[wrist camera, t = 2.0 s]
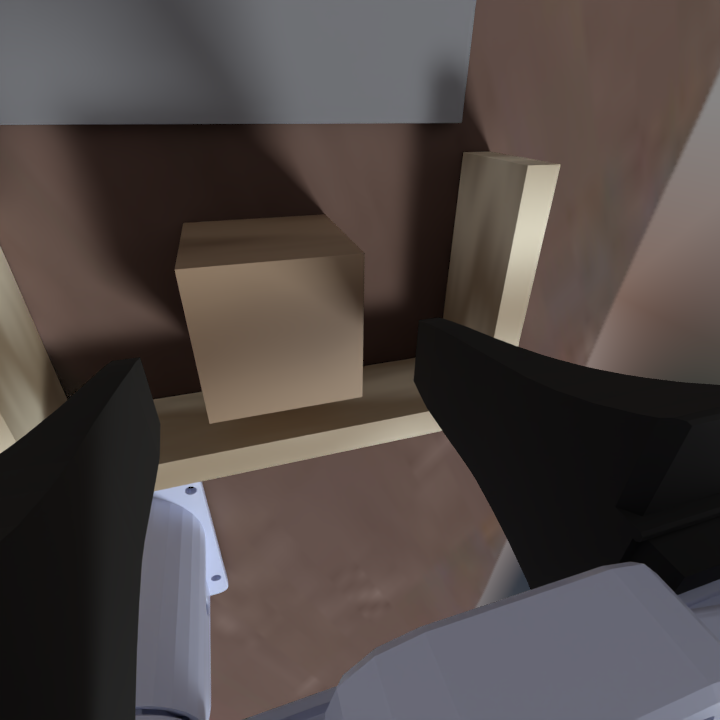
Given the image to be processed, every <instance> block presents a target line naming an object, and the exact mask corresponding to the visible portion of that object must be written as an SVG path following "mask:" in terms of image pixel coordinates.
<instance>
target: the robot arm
mask: <svg viewBox="0 0 720 720" xmlns="http://www.w3.org/2000/svg"><path fill="white" fill-rule="evenodd" d="M413 381H414V383H415V385H416V387H417V389H418V391H419V394H420V396H421V398H422V400H423V402H424V403H425V405H426V407H427V409H428V410H429V412H430V413H431V415H432V416H433V418H434V419H435V421H436V422H437V424H438V425H439V427H440V428H441V429H442V431H443V432H444V434H445V435H446V437H447V438H448V439H449V441H450V442H451V444H452V445H453V446H454V448H455V449H456V451H457V452H458V453H459V455H460V456H461V458H462V459H463V461H464V462H465V463H466V465H467V466H468V468H469V469H470V471H471V473H472V474H473V476H474V477H475V479H476V481H477V482H478V484H479V486H480V488H481V490H482V492H483V493H484V495H485V497H486V499H487V501H488V502H489V504H490V506H491V508H492V510H493V512H494V514H495V516H496V518H497V520H498V522H499V524H500V526H501V527H502V529H503V531H504V533H505V535H506V537H507V539H508V541H509V543H510V545H511V548H512V550H513V552H514V554H515V556H516V558H517V560H518V562H519V565H520V567H521V569H522V571H523V573H524V575H525V577H526V579H527V582H528V584H529V587H530V589H531V590H529V591H526V592H523V593H520V594H517V595H514V596H511V597H508V598H505V599H502V600H500V601H496V602H493V603H490V604H487V605H484V606H481V607H478V608H475V609H472V610H469V611H466V612H463V613H460V614H457V615H454V616H451V617H448V618H445V619H442V620H439V621H437V622H434V623H431V624H428V625H425V626H422V627H419V628H417V629H415V630H413V631H410V632H408V633H406V634H404V635H402V636H400V637H398V638H396V639H394V640H392V641H389V642H387V643H385V644H383V645H381V646H379V647H377V648H375V649H374V650H373V651H371V652H370V653H369V654H368V655H367V656H365V657H364V658H363V659H362V660H361V661H359V662H358V663H357V664H356V665H355V666H353V667H352V668H351V669H350V670H349V671H347V672H346V673H345V674H344V675H343V676H342V678H341V680H340V682H339V684H338V686H336V687H333V688H330V689H327V690H325V691H322V692H319V693H316V694H313V695H310V696H308V697H305V698H302V699H299V700H296V701H294V702H291V703H288V704H285V705H282V706H279V707H277V708H274V709H271V710H268V711H265V712H262V713H260V714H257V715H254V716H251V717H248V718H246V719H243V720H720V385H712V384H698V383H697V384H696V383H684V382H675V381H667V380H659V379H650V378H643V377H636V376H631V375H624V374H619V373H614V372H608V371H603V370H598V369H593V368H589V367H585V366H580V365H577V364H573V363H569V362H565V361H562V360H558V359H554V358H551V357H547V356H544V355H541V354H538V353H535V352H532V351H529V350H526V349H523V348H520V347H517V346H515V345H512V344H509V343H507V342H504V341H501V340H499V339H496V338H494V337H491V336H489V335H486V334H484V333H481V332H479V331H476V330H474V329H471V328H469V327H466V326H463V325H461V324H458V323H455V322H453V321H450V320H446V319H443V318H432V319H425V320H419V326H418V337H417V348H416V358H415V369H414V380H413ZM160 425H161V424H160V421H159V418H158V414H157V411H156V408H155V405H154V401H153V398H152V395H151V392H150V388H149V385H148V382H147V379H146V375H145V372H144V369H143V366H142V362H141V359H140V357H139V358H132V359H124V360H117V361H111V362H110V363H109V364H107V365H106V366H105V367H104V368H102V369H101V370H100V371H99V372H98V373H97V374H96V375H95V376H93V377H92V378H91V379H90V380H89V381H88V382H87V383H86V384H85V385H84V386H83V387H81V388H80V389H79V390H78V391H77V392H76V393H75V394H74V395H72V396H71V397H70V398H69V399H68V400H67V401H66V402H65V403H63V404H62V405H61V406H60V407H59V408H58V409H57V410H55V411H54V412H53V413H52V414H50V415H49V416H48V417H47V418H45V419H44V420H43V421H42V422H41V423H39V424H38V425H37V426H36V427H34V428H33V429H32V430H31V431H29V432H28V433H27V434H26V435H25V436H23V437H22V438H21V439H19V440H18V441H17V442H15V443H14V444H13V445H11V446H10V447H9V448H7V449H6V450H4V451H3V452H2V453H0V720H209V717H210V709H211V647H210V596H211V595H214V594H218V593H221V592H223V591H225V590H226V589H227V588H228V579H227V575H226V571H225V567H224V564H223V560H222V556H221V552H220V549H219V545H218V541H217V537H216V533H215V530H214V526H213V522H212V518H211V514H210V511H209V507H208V503H207V499H206V496H205V492H204V488H203V484H202V481H201V482H196V483H191V484H187V485H182V486H177V487H172V488H168V489H163V490H158V491H154V488H155V483H156V477H157V471H158V466H159V459H160ZM188 487H194V488H188Z"/></svg>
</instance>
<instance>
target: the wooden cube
mask: <svg viewBox="0 0 720 720" xmlns="http://www.w3.org/2000/svg"><path fill="white" fill-rule="evenodd" d="M364 254H365V253H364V252H363V251H362V250H361V249H360V248H359V247H358V246H357V245H356V244H355V243H354V242H353V241H351V240H350V239H349V238H348V237H347V236H346V235H345V234H344V233H343V232H342V231H341V230H340V229H339V228H338V227H337V226H336V225H335V224H334V223H333V222H332V221H331V220H330V219H329V218H328V217H327V216H326V215H325V214H321V215H304V216H288V217H271V218H255V219H238V220H221V221H205V222H188V223H183V227H182V233H181V238H180V243H179V248H178V254H177V259H176V264H175V274H176V278H177V283H178V287H179V292H180V296H181V300H182V305H183V309H184V313H185V318H186V322H187V327H188V331H189V335H190V340H191V344H192V349H193V353H194V357H195V362H196V366H197V371H198V375H199V379H200V384H201V388H202V393H203V397H204V401H205V406H206V410H207V414H208V419H209V423H210V424H211V423H217V422H223V421H228V420H234V419H240V418H245V417H251V416H257V415H262V414H268V413H274V412H279V411H285V410H291V409H296V408H302V407H308V406H313V405H319V404H325V403H330V402H336V401H342V400H347V399H353V398H359V397H362V385H363V319H364Z"/></svg>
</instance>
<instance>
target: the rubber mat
mask: <svg viewBox="0 0 720 720" xmlns="http://www.w3.org/2000/svg"><path fill="white" fill-rule="evenodd" d="M475 5H476V0H0V125H69V124H331V123H462V116H463V107H464V99H465V90H466V82H467V73H468V65H469V56H470V48H471V39H472V31H473V22H474V14H475Z"/></svg>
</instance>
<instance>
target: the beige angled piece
mask: <svg viewBox="0 0 720 720" xmlns="http://www.w3.org/2000/svg"><path fill="white" fill-rule="evenodd" d="M560 165H561V164H556V163H550V162H545V161H539V160H534V159H528V158H523V157H518V156H512V155H507V154H501V153H496V152H463V159H462V168H461V176H460V184H459V192H458V200H457V208H456V216H455V224H454V233H453V241H452V249H451V257H450V265H449V273H448V281H447V289H446V298H445V306H444V314H443V319H446V320H450V321H453V322H455V323H458V324H461V325H463V326H466V327H469V328H471V329H474V330H476V331H479V332H481V333H484V334H486V335H489V336H491V337H494V338H496V339H499V340H501V341H504V342H507V343H509V344H512V345H515V346H517V347H518V344H519V340H520V336H521V331H522V327H523V323H524V319H525V314H526V310H527V306H528V302H529V297H530V293H531V289H532V284H533V280H534V276H535V272H536V267H537V263H538V259H539V255H540V250H541V246H542V242H543V237H544V233H545V229H546V225H547V220H548V216H549V212H550V208H551V203H552V199H553V195H554V191H555V186H556V182H557V178H558V173H559V169H560ZM414 369H415V358H411V359H405V360H399V361H392V362H386V363H380V364H373V365H367V366H363V385H362V397H359V398H353V399H347V400H342V401H336V402H330V403H325V404H319V405H313V406H308V407H302V408H296V409H291V410H285V411H279V412H274V413H268V414H262V415H257V416H251V417H245V418H240V419H234V420H228V421H223V422H217V423H211V424H210V423H209V419H208V414H207V410H206V406H205V401H204V397H203V393H202V392H197V393H191V394H185V395H178V396H172V397H166V398H159V399H153V401H154V405H155V408H156V411H157V414H158V418H159V421H160V424H161V425H160V459H159V466H158V471H157V477H156V483H155V488H154V491H158V490H163V489H168V488H172V487H177V486H182V485H187V484H191V483H196V482H201V481H206V480H210V479H215V478H220V477H225V476H229V475H234V474H239V473H244V472H248V471H253V470H258V469H263V468H267V467H272V466H277V465H282V464H286V463H291V462H296V461H301V460H305V459H310V458H315V457H320V456H324V455H329V454H334V453H339V452H343V451H348V450H353V449H358V448H362V447H367V446H372V445H376V444H381V443H386V442H391V441H395V440H400V439H405V438H410V437H414V436H419V435H424V434H429V433H433V432H438V431H442V429H441V428H440V427H439V425H438V424H437V422H436V421H435V419H434V418H433V416H432V415H431V413H430V412H429V410H428V409H427V407H426V405H425V403H424V402H423V400H422V398H421V396H420V394H419V391H418V389H417V387H416V385H415V383H414V381H413V380H414ZM66 401H67V398H66V395H65V393H64V391H63V388H62V386H61V384H60V382H59V379H58V377H57V375H56V372H55V370H54V368H53V366H52V363H51V361H50V359H49V356H48V354H47V352H46V350H45V347H44V345H43V343H42V340H41V338H40V336H39V334H38V331H37V329H36V327H35V324H34V322H33V320H32V318H31V315H30V313H29V311H28V308H27V306H26V304H25V302H24V299H23V297H22V295H21V292H20V290H19V288H18V286H17V283H16V281H15V279H14V276H13V274H12V272H11V270H10V267H9V265H8V263H7V260H6V258H5V256H4V254H3V251H2V249H1V247H0V453H2V452H3V451H4V450H6V449H7V448H9V447H10V446H11V445H13V444H14V443H15V442H17V441H18V440H19V439H21V438H22V437H23V436H25V435H26V434H27V433H28V432H29V431H31V430H32V429H33V428H34V427H36V426H37V425H38V424H39V423H41V422H42V421H43V420H44V419H45V418H47V417H48V416H49V415H50V414H52V413H53V412H54V411H55V410H57V409H58V408H59V407H60V406H61V405H62V404H63V403H65V402H66Z"/></svg>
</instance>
